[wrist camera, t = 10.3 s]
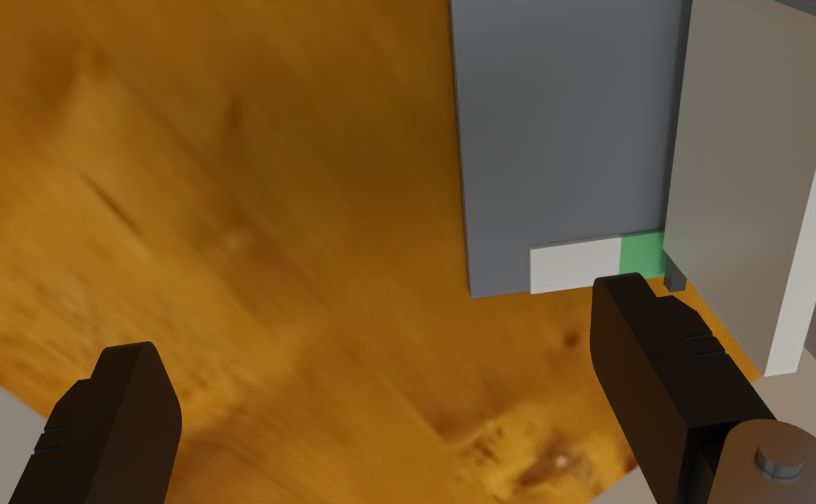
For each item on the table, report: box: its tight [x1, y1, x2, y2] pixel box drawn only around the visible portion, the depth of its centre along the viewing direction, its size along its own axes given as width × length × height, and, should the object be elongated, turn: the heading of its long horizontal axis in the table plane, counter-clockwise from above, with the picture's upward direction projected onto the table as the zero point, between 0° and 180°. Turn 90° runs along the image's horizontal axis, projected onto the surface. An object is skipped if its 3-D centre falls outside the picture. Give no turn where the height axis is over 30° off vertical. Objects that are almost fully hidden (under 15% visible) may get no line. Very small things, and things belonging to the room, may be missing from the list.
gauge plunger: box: [663, 0, 816, 377], centre depth 17 cm, size 9×1×6 cm, turn 6°
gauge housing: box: [449, 0, 816, 359], centre depth 17 cm, size 11×10×8 cm
